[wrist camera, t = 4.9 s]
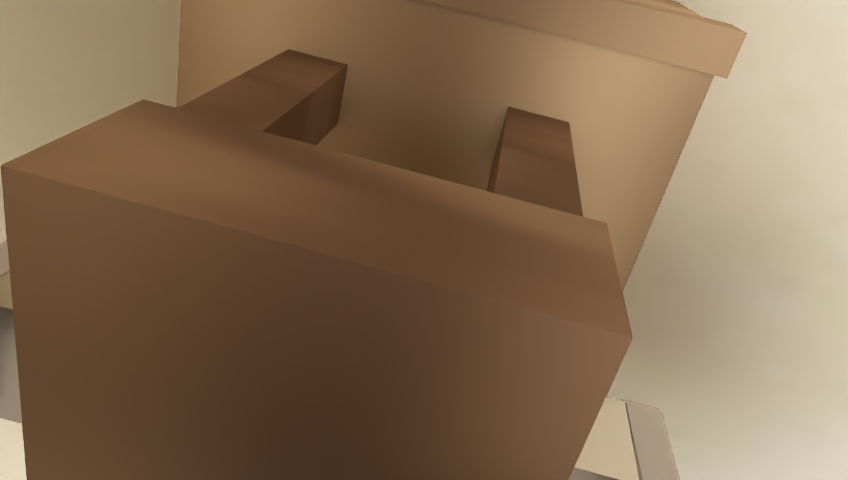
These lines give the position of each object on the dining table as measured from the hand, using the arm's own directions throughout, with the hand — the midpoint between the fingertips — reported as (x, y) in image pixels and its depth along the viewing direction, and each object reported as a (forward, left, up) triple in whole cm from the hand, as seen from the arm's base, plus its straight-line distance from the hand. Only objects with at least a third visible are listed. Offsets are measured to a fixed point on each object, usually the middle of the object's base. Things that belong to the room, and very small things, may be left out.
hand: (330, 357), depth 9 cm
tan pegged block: (0, 0, -5) cm, 5 cm away
